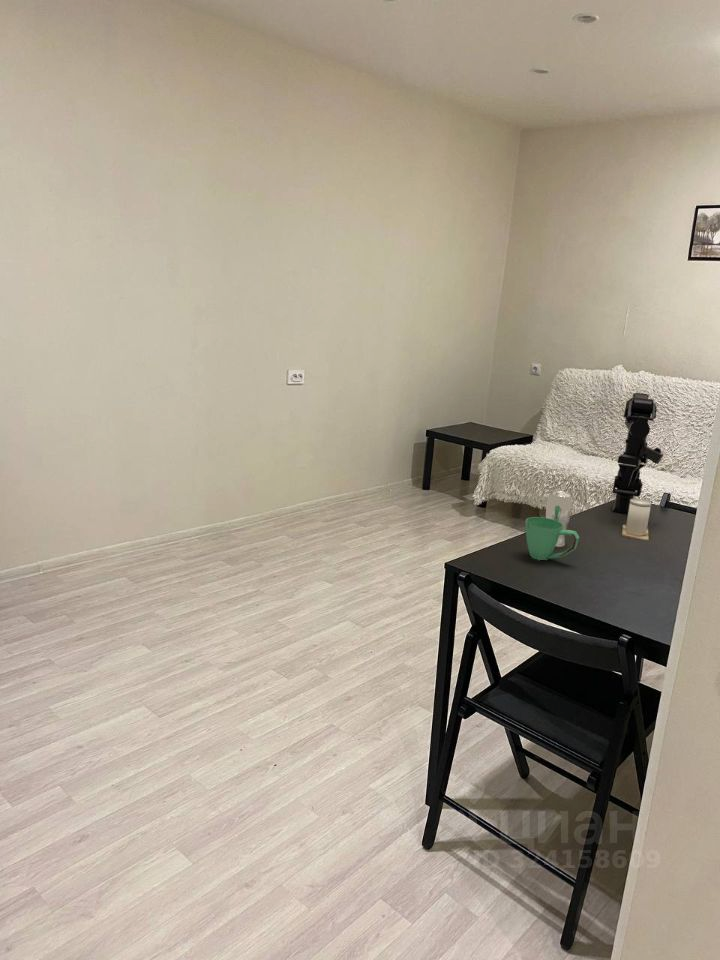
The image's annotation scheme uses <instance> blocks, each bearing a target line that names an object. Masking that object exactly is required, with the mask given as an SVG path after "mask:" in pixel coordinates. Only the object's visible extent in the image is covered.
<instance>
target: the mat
mask: <svg viewBox="0 0 720 960" xmlns="http://www.w3.org/2000/svg"><path fill="white" fill-rule="evenodd" d="M625 529H626V524H622V530H621V531H622V532H621V536H623V538H628V537H629V538H630V539H636V540H641V541H647V542H649V528H648V527H647V530H646V535H643V536H638V535H632V534H629V533H627V532H626V531H625ZM629 538H628V539H629Z"/></svg>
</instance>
